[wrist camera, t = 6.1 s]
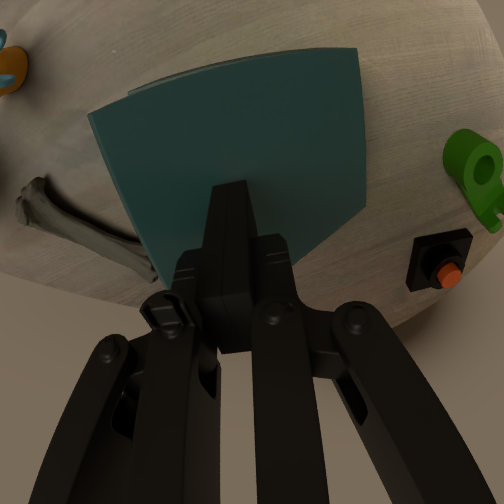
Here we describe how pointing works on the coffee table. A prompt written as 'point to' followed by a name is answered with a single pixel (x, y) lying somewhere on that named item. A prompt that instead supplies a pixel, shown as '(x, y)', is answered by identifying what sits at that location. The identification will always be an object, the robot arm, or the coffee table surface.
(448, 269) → the button
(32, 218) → the bone
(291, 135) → the tin lid
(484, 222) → the green ring bracket
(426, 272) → the control block
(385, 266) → the coffee table surface
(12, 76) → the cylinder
